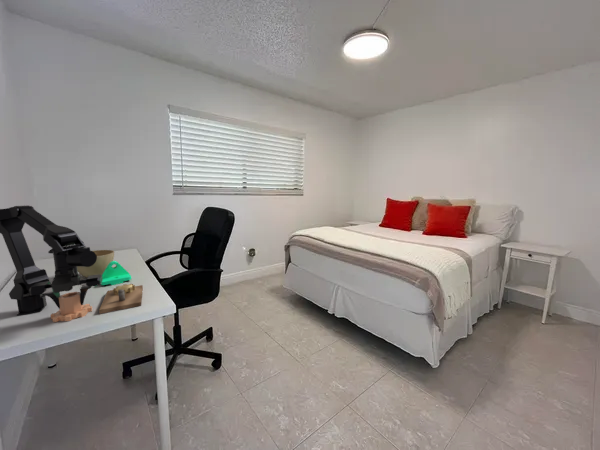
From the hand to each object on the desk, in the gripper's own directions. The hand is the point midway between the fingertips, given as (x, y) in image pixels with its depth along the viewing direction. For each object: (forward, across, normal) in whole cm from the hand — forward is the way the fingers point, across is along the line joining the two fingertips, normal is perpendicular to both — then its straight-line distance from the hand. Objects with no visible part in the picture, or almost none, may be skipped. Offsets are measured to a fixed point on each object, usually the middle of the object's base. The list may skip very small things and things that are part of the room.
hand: (71, 306), depth 91 cm
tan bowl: (+3, -1, +51) cm, 51 cm away
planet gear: (+3, 0, 0) cm, 3 cm away
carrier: (+3, +15, +6) cm, 16 cm away
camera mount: (+4, +10, +33) cm, 34 cm away
